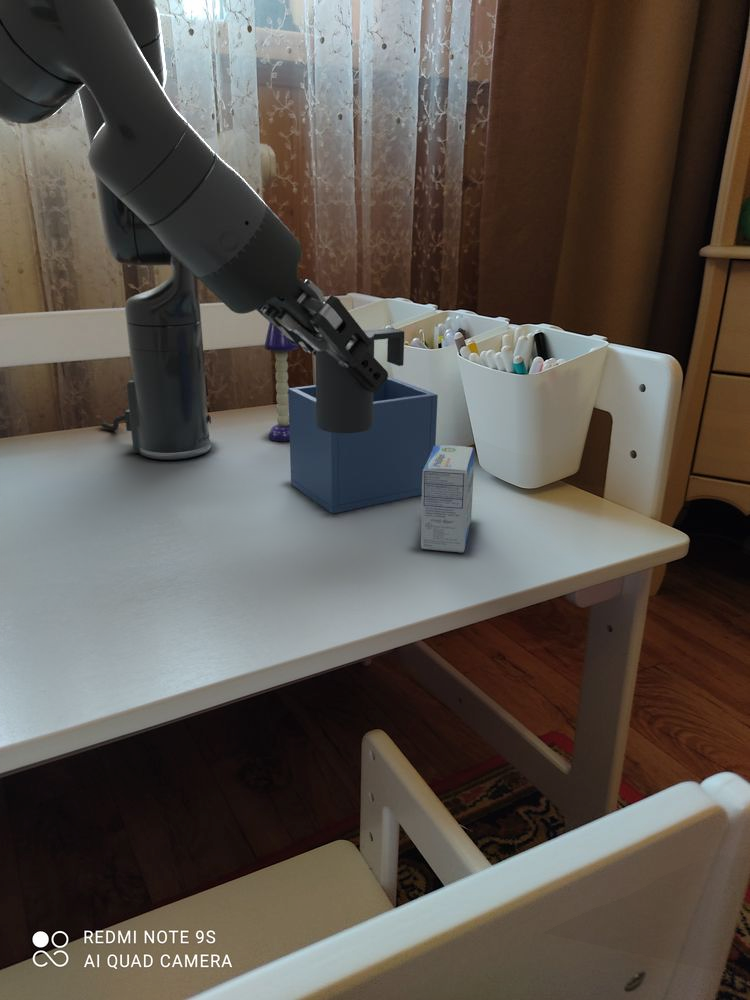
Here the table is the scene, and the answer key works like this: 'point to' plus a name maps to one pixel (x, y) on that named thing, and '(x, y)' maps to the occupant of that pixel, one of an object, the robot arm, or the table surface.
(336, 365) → the mug
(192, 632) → the table surface
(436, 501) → the medicine box
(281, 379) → the toy lamp
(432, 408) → the box
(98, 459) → the table surface
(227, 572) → the table surface
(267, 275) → the robot arm
